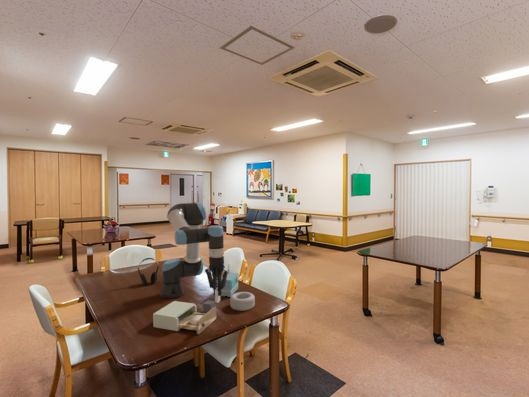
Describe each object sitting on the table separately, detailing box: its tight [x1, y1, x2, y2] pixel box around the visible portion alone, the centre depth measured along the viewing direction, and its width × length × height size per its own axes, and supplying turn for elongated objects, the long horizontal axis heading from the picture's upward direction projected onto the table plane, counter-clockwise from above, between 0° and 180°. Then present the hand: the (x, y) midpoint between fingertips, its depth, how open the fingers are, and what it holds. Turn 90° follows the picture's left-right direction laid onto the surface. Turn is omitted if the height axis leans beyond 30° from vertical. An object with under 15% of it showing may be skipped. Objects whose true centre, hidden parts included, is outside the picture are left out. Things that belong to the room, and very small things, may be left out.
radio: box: [220, 265, 239, 298], centre depth 197 cm, size 16×9×20 cm, turn 167°
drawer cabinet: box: [152, 300, 198, 332], centre depth 157 cm, size 15×18×7 cm
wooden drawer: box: [179, 306, 217, 335], centre depth 153 cm, size 16×18×6 cm
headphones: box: [137, 257, 159, 286], centre depth 220 cm, size 9×15×20 cm, turn 123°
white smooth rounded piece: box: [190, 315, 203, 325], centre depth 153 cm, size 8×8×2 cm
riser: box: [202, 300, 216, 314], centre depth 168 cm, size 5×5×6 cm
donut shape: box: [229, 291, 256, 312], centre depth 176 cm, size 15×15×7 cm
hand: (217, 301), depth 148 cm, fingers closed
